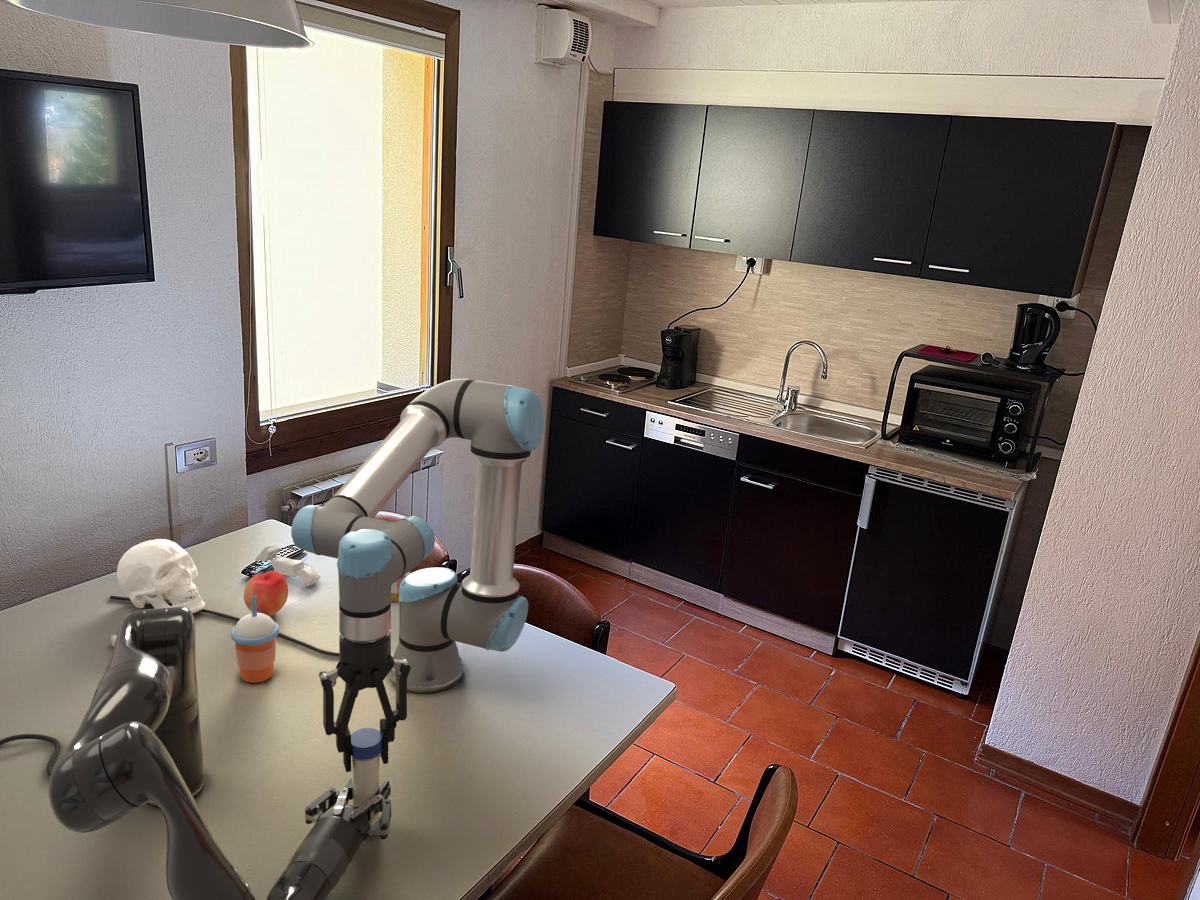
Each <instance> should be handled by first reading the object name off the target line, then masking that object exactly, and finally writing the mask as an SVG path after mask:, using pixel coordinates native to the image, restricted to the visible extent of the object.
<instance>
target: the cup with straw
mask: <svg viewBox="0 0 1200 900" xmlns="http://www.w3.org/2000/svg"><path fill="white" fill-rule="evenodd" d="M251 603H252V611H251V613H248V614H246V615H244V616H243V617H241V618H240V620H239V621H237V623H236V624H235V626H234V627H233V628H231V631H230V638H231V640H232V641H233V642H234V643H235V644H234V648H235V649H234V650H235V655H236V659H237V660H236V661H237V665H238V667H239V672H240V678H241V679H242V680H243V681H245V682H246V683H251V684H255V683H261V682H264V681H267V680H269V679H270V678H272V676H273V674H274V667H275V666H274V664H275V661H276V651H277V649H276V648H277V637H278V636H277V635H278V633H280V626H279V625H278V623H277V622H276V621H274V620H273V618H272V617H271V616H270V617H269V616H268V615H266V614H263V613H257V609H256V596H251Z"/></svg>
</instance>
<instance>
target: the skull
mask: <svg viewBox="0 0 1200 900" xmlns="http://www.w3.org/2000/svg"><path fill="white" fill-rule="evenodd" d="M198 575H199V572H198V569H197V566H196V565H195V562H194V560H193V558H192V556H191V555H190V553H189V552H188V551H186V550H185V549H184V548H182V547H181V546H180V545H179V544H178V543H177V542H175V541H173V540H169V539H165V538H156V539H149V540H146V541H143V542H140V543H137V544H136V545H133V546H132V547H130V548H129V549H128V550H126V552H124V553H123V555H122V556H121V557H120V559H119V562H118V564H117V567H116V578H117V583H118V584H119V587H120V588H121V590H122V591H123V593H124V594H125V595H126V596H127V598H130V600H131V601H130V602H131V603H132V604H133V605H134V606H135V607H136V608H139V609H143V608H145V605H151V606H152V607H153V609H158V608H169V607H187V608H189V609H190V610H191V612H192V614H195V613H197V612H199V611H200V610H202V609H205V606H206V602H205V601H204V600H203V599H202V597H201V595H200V593H199V592H200V590H199V588H198V587H197V586H196V584H195V583H194V582H193V580H195V579H196V578H197V577H198ZM188 597H189V598H188ZM165 600H167V601H169V603H172V605H173V606H169V605H168V604H167V603H168V602H166V601H165ZM175 604H176V605H175Z"/></svg>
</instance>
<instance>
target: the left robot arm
mask: <svg viewBox="0 0 1200 900" xmlns="http://www.w3.org/2000/svg"><path fill="white" fill-rule="evenodd" d="M116 635H117V637H116V641H115V645H114V647H113V650H112V654H111V657H110V659H109V663H108V664H107V666H106V669H105V671H104V673H103V675H102V677H101V679H100V680H99V682H98V684H97V687H96V689H95V692H94V693H93V697H92V699H91V702H90V705H89V707H88V709H87V710H86V713H85V715H84V717H83V719H82V721H81V723H80V726H79V727H78V729H77V731H76V732H75V734H74V736H73V738H72V739H71V740H70V742H69V743H68V744H67V745H66V747H65V749H64V750H63V752H62V753H61V754H60V751H61V748H62V747H61V746H62V745H61V742H60V740H58V739H57V738H55V737H52V736H50V735H45V734H40V733H20V734H14V735H11V736H7V737H4V738H1V739H0V746H2V745H4V744H7V743H9V742H13V741H18V740H19V741H20V740H38V741H45V742H49V743H51V744H53V745H54V749H53V752H52V754H51V756H50V757H49V760H48V762H47V764H46V767H45V768H46V773H47V774H48V776H49V781H48V799H49V804H50V807H51V810H52V812H53V815H54V816H55V818H56V819H57V821H58V822H59V823H60V825H62V827H64V828H66V829H68V830H69V831H70V832H71V831H72V832H74V833H79V834H83V833H84V834H85V833H91V832H95V831H98V830H100V829H103V828H105V827H108V826H110V825H112V824H113V823H115V822H116V821H118V820H120V819H122V818H123V817H126V816H127V815H129V814H130V813H132V812H134V811H137V809H139V808H141V807H142V806H144V805H146V804H149V805H151V806H153V807H157V808H158V809H159V810H160V812H161V813H162V816H163V818H164V821H165V826H166V840H167V841H166V859H165V878H166V887H167V890H168V894H169V896H170V898H171V900H256V897H255V894H254V892H253V890H252V889H251V887H250V886H249V884H247V882H246V880H245V879H244V877H242V875H241V874H240V873H239V871H238V870H237V868H236V867H235V866H234V865H233V864H232V862H231V861H230V859H229V858H228V857H227V856H226V854H225V853H224V852H223V850H222V848H221V846H220V845H219V844H218V841H217V840H216V839H215V837H214V835H213V833H212V832H211V829H210V828H209V825H208V823H207V821H206V820H205V818H204V815H203V814H202V812H201V809H200V808H199V805H198V803H197V802H196V800H195V797H196V796H197V795H199V794H200V792H202V790H203V788H204V787H205V783H206V782H205V781H206V779H205V778H206V777H205V774H204V760H203V759H204V758H203V744H202V730H201V717H200V705H199V691H198V690H199V689H198V680H197V679H198V678H197V666H196V665H197V664H196V623H195V617H194V613H192V612H191V610H190V609H189V608H187V607H169V608H158V609H155V608H147V609H138V610H135V611H132V612H131V611H130V612H129V613H127V614H126V615H125V616H124V617H123V618H122V620H121V622H120V624H119V627H118V630H117V632H116ZM166 667H167V668H166ZM59 754H60V756H59ZM58 756H59V757H58ZM56 759H57V760H56ZM55 761H56V762H55ZM391 794H392V784H391V783H390V780H387V779H384V780H383V781H382V783H381V784H380V785H379V789H378V791H377V792H376V796H374V797H373V798H372V799H371V800H370V801H365V802H364V803H363V804H362V805H361V806H360V807H353V805H352V804H349V801H352V777H350V779H349V780H348V782H347V783H346V785H345V786H344V787H341V788H340V790H337V789H336V788H335V787H330V788H329V789H327V790H326V791H324V792H323V793H321V795H320V796H318V797H317V798H315V799H314V800H313V801H312V802H310V803H309V804H308V805H307V806H305V808H304V815H305V816H304V817H305V819H304V820H305V824H307V825H311V824H313V823H314V825H313V826H312V828H310V830H309V832H307V834H306V836H305V837H304V839H303V840H302V842H301V843H300V844H299V846H298V847H297V849H296V850H295V852H294V853H293V855H292V856H291V858H290V860H289V861H288V863H287V866H286V867H285V868H284V870H283V871H282V873H281V874H280V875H279V877H278V878H277V880H276V881H275V882H274V884H273V885H272V887H271V889H270V890H269V892H268V894H267V896H266V899H265V900H327V898H328V896H329V895H330V893H331V892H332V891H333V890H334V889H335V887H336V886H337V885H338V883H339V882H340V880H341V879H342V877H343V876H344V875H345V873H346V872H347V869H348V867H349V866H350V864H351V862H352V860H353V859H354V857H355V856H356V854H357V853H358V851H359V849H360V848H361V845H362V843H363V842H364V841H366V840H367V839H368V838H369V837H370V835H371V836H379V839H380V840H386V839H388V838H389V832H390V828H391V827H390V826H391V821H392V820H391V819H392V800H391V799H389V797H390V796H391ZM333 807H334V808H333ZM380 813H381V815H380ZM377 814H379V815H380V817H379V818H378V821H376V823H375V824H374V825H372V826H370V823H371V822H372V821H373V820H374V817H375V816H376V815H377Z"/></svg>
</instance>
